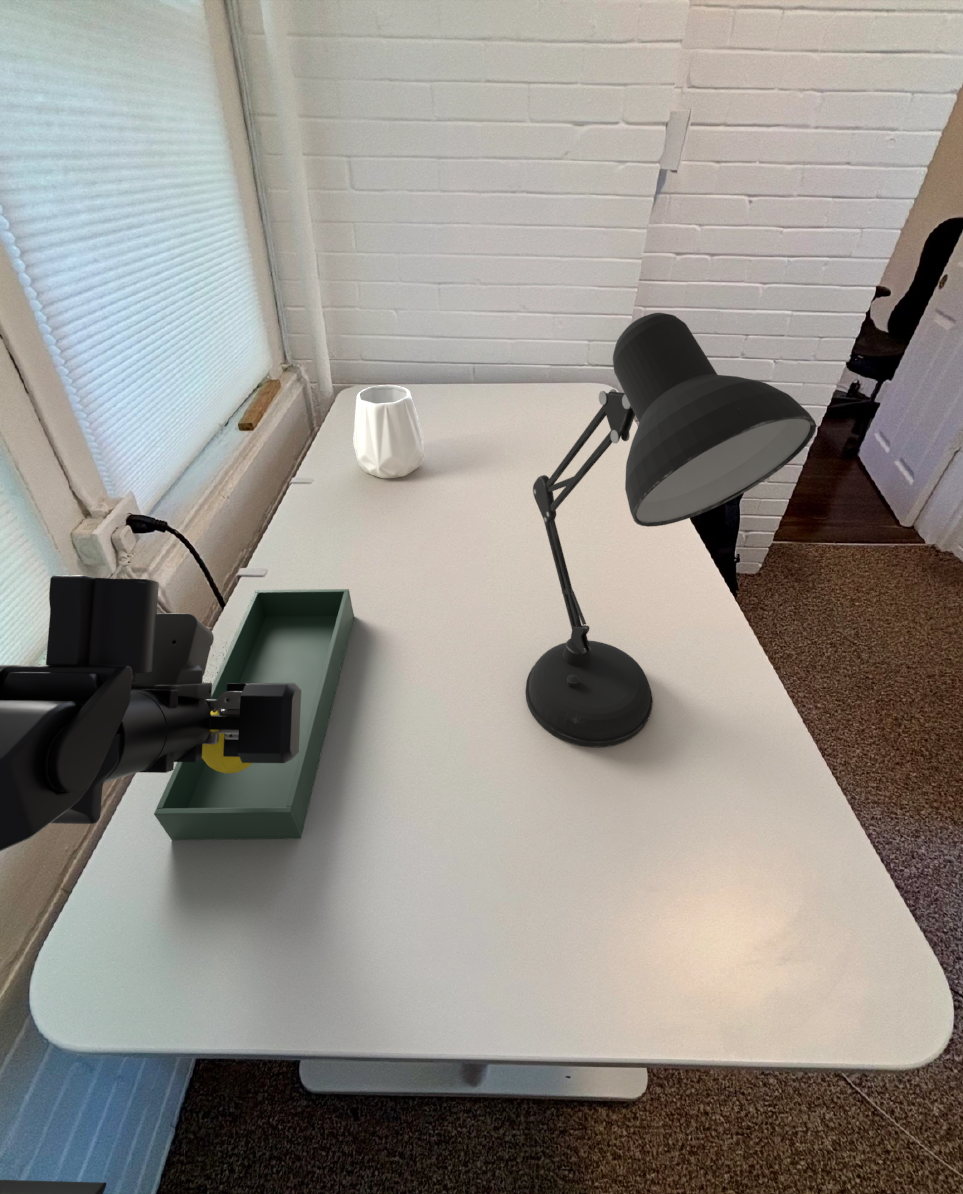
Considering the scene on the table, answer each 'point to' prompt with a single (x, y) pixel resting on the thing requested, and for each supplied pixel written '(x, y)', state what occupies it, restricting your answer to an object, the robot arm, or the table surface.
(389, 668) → the table surface
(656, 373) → the desk lamp
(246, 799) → the green rectangular tray
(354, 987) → the table surface
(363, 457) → the vase
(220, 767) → the lemon
